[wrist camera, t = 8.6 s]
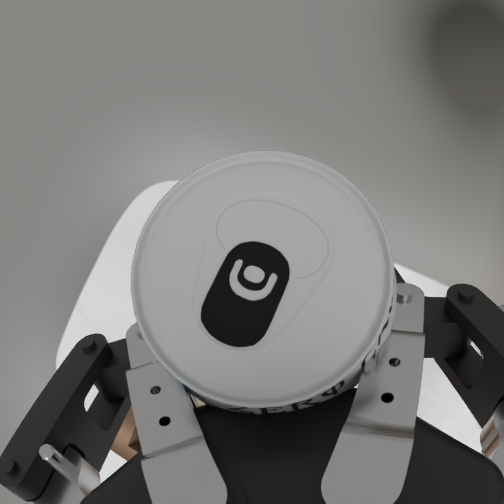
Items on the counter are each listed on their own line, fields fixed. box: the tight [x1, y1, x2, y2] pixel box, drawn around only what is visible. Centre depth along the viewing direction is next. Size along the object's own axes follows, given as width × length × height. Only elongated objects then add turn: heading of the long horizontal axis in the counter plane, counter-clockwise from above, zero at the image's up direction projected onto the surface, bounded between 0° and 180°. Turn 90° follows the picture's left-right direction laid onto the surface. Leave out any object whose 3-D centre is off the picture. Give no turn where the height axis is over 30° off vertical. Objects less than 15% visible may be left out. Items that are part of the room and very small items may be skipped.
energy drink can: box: [131, 150, 397, 414], centre depth 12 cm, size 6×6×15 cm
